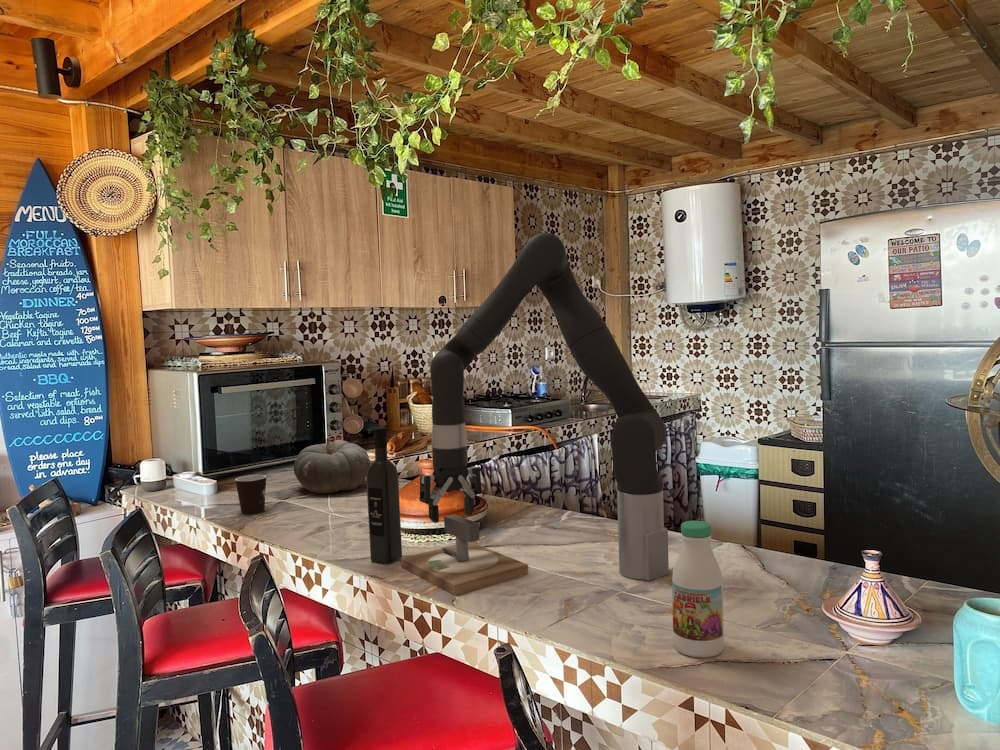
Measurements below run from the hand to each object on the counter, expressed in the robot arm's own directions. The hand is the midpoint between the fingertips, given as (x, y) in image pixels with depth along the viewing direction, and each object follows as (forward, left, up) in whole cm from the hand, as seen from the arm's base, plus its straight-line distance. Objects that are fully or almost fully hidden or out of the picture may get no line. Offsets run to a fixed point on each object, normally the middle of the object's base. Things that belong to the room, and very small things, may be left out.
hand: (452, 518), depth 160 cm
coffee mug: (+82, +17, -11) cm, 85 cm away
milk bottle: (-60, -8, -11) cm, 61 cm away
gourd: (+92, -12, -11) cm, 94 cm away
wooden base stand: (-4, 0, -11) cm, 11 cm away
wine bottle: (+14, +9, -11) cm, 20 cm away
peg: (-3, 0, -8) cm, 8 cm away
